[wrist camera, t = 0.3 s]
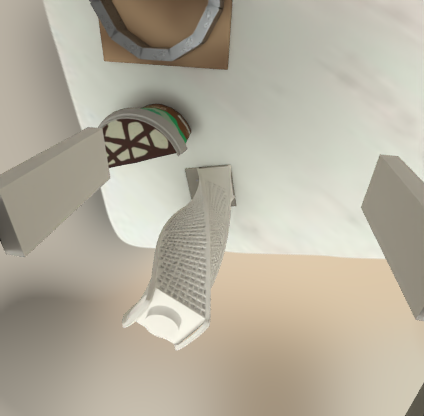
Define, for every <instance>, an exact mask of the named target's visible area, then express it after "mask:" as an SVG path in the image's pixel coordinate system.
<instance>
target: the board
mask: <svg viewBox="0 0 424 416" xmlns="http://www.w3.org/2000/svg"><path fill="white" fill-rule="evenodd" d="M112 2H113V4H114V6H115V7H116V9H117V11H118V13H119V15H120V17H121V18H122V20H123V22H124V24H125V26H126V28H127V29H128V30H129V31H130V32H131V33H133V34H134V35H135V36H137V37H138V38H140V39H141V40H142V41H144V42H145V43H147V44H148V45H149V46H152V47H168V48H172V47H173V46H175V45H176V44H178V43H180V42H181V41H183V40H184V39H186V38H188V37H189V36H191V35H192V34H193V33H194V31H195V29H196V27H197V25H198V23H199V21H200V19H201V17H202V15H203V13H204V11H205V9H206V7H207V5H208V0H112ZM222 10H223V12H222V14H221V16H220V17H219V19H218V21H217V23H216V25H215V27H214V29H213V30H212V32H211V34H210V36H209V38H208V40H207V42H205V44H203V45H201V46H200V47H198V48H196V49H195V50H193V51H191V52H190V53H188V54H186V55H185V56H183V57H181V58H180V59H177V60H174V61H159V60H144V59H139V58H137V57H136V56H134V55H133V54H132V53H130V52H129V51H127V50H126V49H125V48H123V47H122V46H120V45H119V44H117V43H116V42H115V41H113V40H112V39H111V38H110V37H109V35H108V33H107V32H106V30H105V28H104V26H103V25H102V23H101V21H100V19H99V26H100V33H101V41H102V48H103V56H104V61H110V62H124V63H139V64H153V65H167V66H182V67H196V68H210V69H225V70H227V69H228V58H229V43H230V28H231V12H232V0H224V9H222Z"/></svg>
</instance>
